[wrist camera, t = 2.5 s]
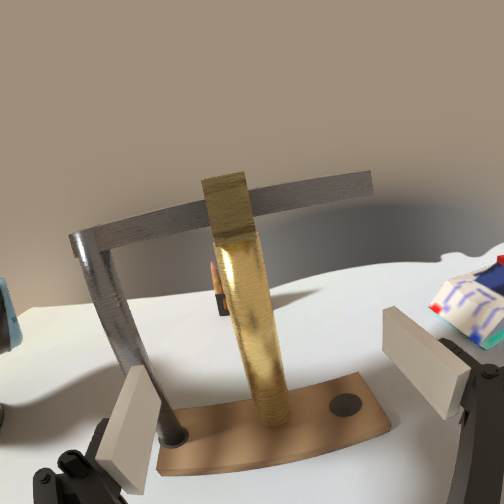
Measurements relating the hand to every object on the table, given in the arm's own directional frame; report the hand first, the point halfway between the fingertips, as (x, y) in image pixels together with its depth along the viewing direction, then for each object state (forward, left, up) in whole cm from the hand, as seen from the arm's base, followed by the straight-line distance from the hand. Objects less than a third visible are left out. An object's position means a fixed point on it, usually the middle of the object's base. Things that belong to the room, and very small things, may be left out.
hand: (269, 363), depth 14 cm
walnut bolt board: (-8, +7, -18) cm, 21 cm away
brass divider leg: (-7, +7, -16) cm, 19 cm away
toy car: (+23, +42, -19) cm, 51 cm away
